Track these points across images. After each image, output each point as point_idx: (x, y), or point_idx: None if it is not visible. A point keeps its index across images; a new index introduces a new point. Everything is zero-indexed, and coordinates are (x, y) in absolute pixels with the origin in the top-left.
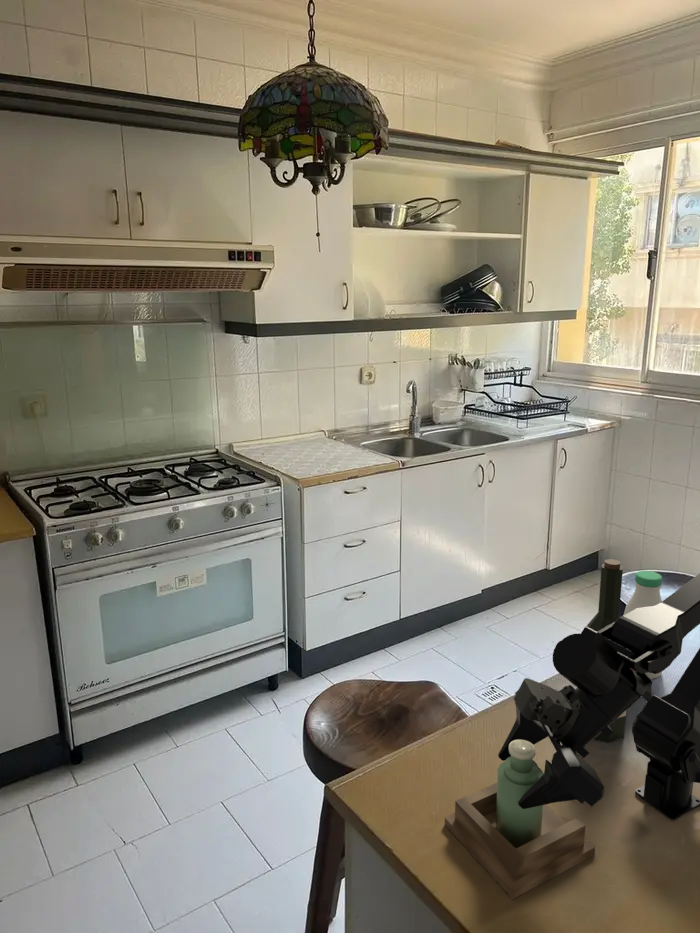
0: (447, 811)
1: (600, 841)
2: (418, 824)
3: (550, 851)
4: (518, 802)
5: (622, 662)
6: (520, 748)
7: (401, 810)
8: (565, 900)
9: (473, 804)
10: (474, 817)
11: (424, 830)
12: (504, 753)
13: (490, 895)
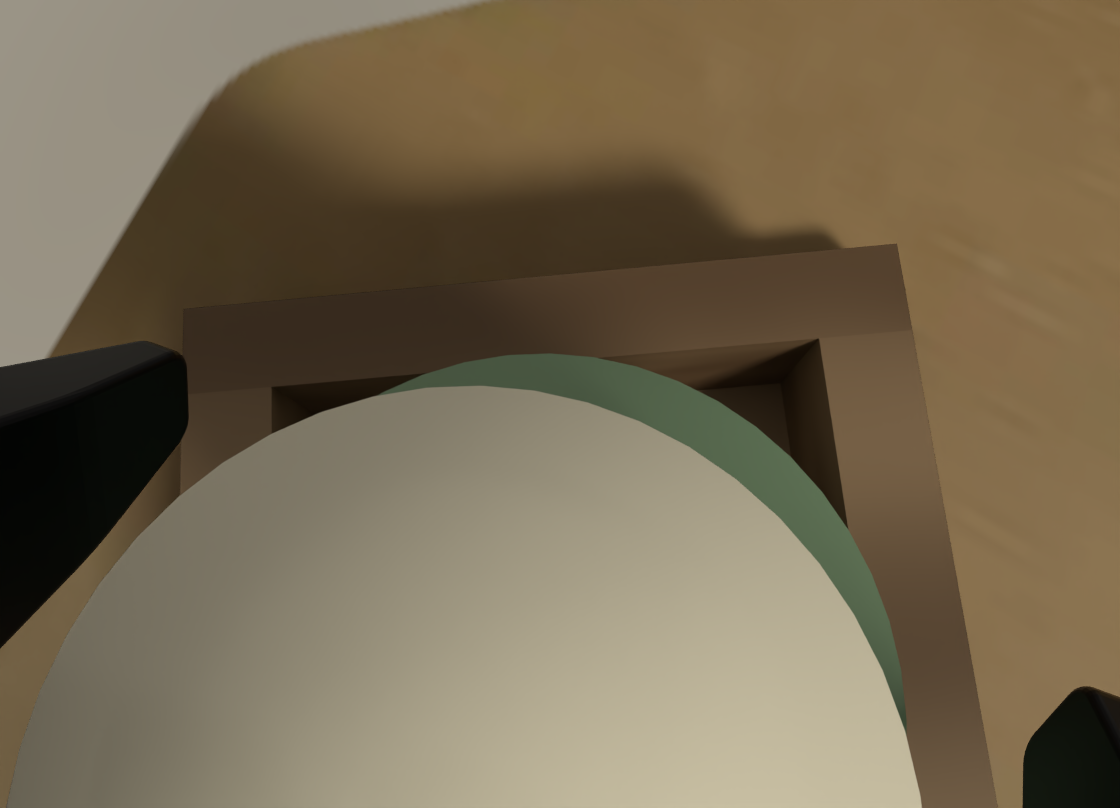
0: (973, 350)
1: None
2: (930, 137)
3: None
4: (160, 349)
5: None
6: (437, 748)
7: (1080, 97)
8: (76, 598)
9: (817, 369)
10: (672, 283)
11: (871, 146)
12: (1090, 785)
13: (310, 243)
